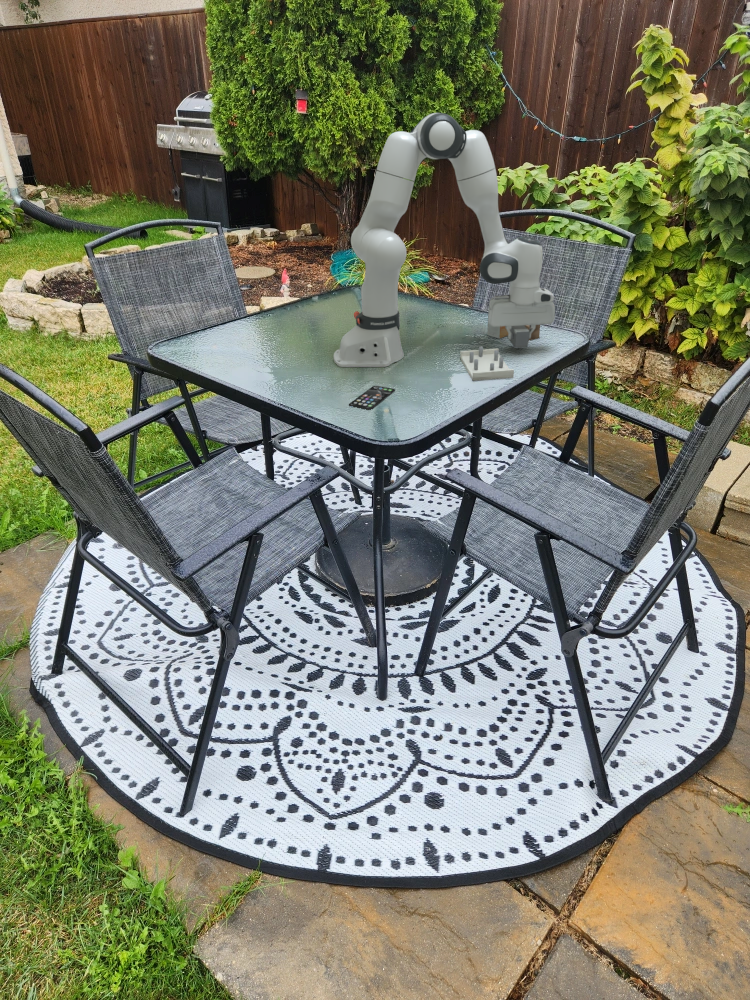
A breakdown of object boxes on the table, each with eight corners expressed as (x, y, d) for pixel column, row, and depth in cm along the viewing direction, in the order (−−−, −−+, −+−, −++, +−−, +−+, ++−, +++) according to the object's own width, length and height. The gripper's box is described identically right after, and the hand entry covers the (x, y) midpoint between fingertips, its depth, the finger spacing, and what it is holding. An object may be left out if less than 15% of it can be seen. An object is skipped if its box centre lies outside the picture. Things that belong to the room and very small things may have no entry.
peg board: (472, 380, 194) (473, 367, 192) (460, 358, 209) (460, 346, 207) (513, 377, 195) (514, 364, 193) (497, 355, 210) (498, 343, 208)
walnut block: (526, 341, 220) (527, 326, 217) (517, 337, 224) (518, 322, 221) (539, 338, 221) (540, 323, 219) (529, 334, 225) (531, 319, 223)
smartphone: (396, 389, 191) (370, 409, 180) (396, 391, 191) (370, 411, 180) (373, 385, 194) (347, 404, 183) (374, 387, 194) (347, 407, 184)
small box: (499, 339, 222) (501, 307, 216) (486, 335, 226) (488, 304, 220) (515, 333, 226) (517, 302, 221) (502, 329, 230) (504, 299, 224)
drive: (515, 348, 208) (516, 332, 205) (508, 339, 215) (510, 323, 212) (527, 347, 208) (529, 331, 206) (521, 338, 215) (522, 323, 212)
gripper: (492, 298, 199) (488, 343, 207) (559, 295, 201) (553, 340, 208) (487, 292, 205) (484, 336, 212) (552, 290, 206) (547, 333, 213)
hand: (519, 338), depth 210 cm, fingers closed on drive, 4 cm apart
